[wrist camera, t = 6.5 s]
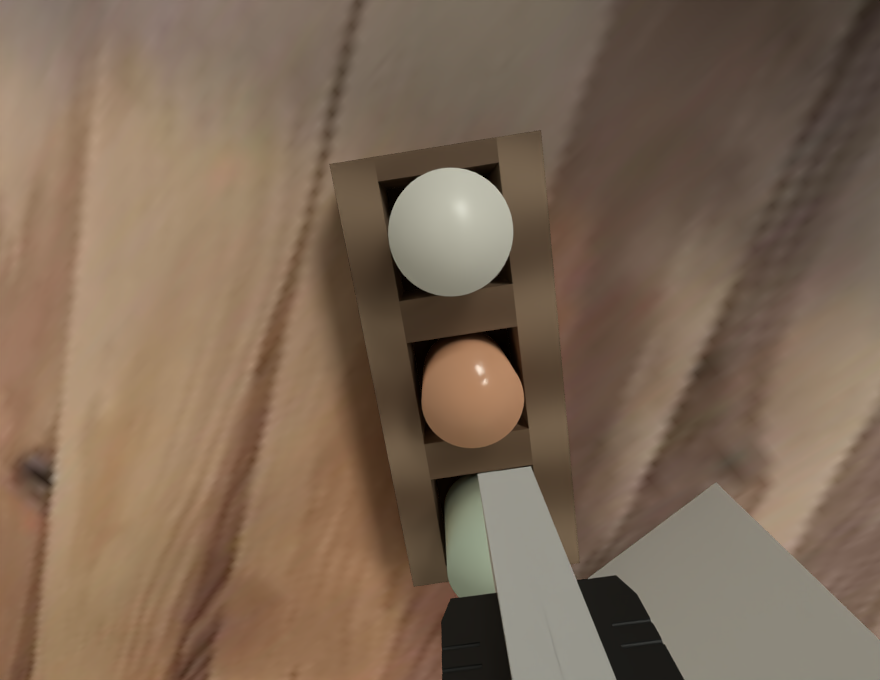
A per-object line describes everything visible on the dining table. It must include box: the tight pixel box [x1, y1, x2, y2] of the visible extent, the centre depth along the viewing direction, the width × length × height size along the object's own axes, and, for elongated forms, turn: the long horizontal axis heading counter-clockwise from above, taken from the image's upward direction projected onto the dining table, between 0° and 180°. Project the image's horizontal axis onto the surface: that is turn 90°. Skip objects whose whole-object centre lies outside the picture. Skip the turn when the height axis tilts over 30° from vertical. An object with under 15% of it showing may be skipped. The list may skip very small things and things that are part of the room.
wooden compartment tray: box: [330, 130, 580, 586], centre depth 25 cm, size 24×10×4 cm, turn 9°
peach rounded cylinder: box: [422, 332, 524, 448], centre depth 24 cm, size 5×5×5 cm
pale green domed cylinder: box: [444, 470, 500, 598], centre depth 24 cm, size 5×5×5 cm
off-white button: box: [388, 168, 513, 297], centre depth 20 cm, size 5×5×5 cm
